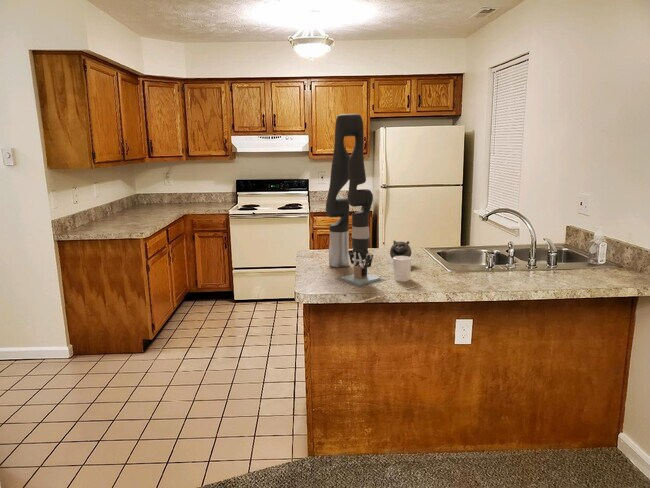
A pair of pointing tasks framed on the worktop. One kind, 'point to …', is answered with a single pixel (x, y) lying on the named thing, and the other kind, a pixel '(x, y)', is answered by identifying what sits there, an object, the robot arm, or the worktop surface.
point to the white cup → (401, 268)
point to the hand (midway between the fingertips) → (360, 275)
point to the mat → (360, 285)
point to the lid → (360, 277)
